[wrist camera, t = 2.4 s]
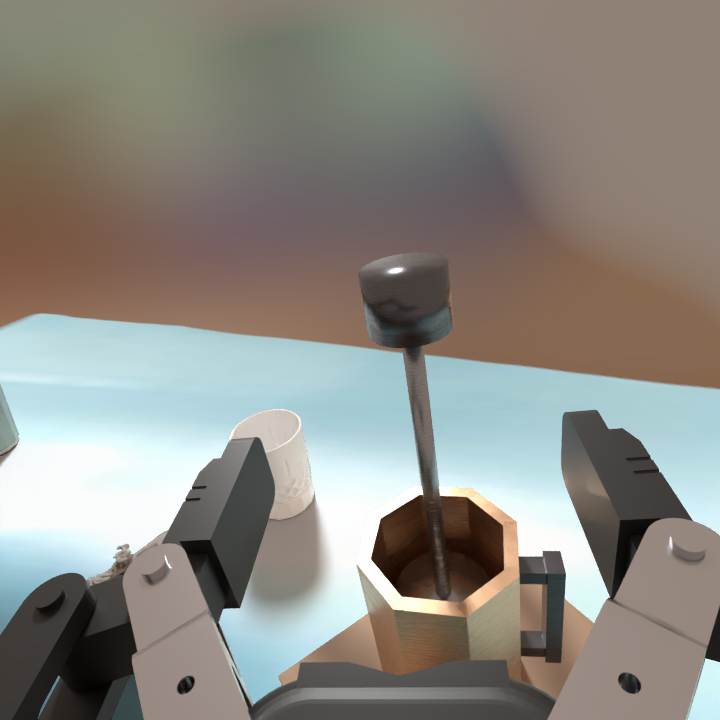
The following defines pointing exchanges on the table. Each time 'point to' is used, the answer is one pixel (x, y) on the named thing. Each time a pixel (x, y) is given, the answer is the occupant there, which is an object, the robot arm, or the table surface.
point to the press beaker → (476, 613)
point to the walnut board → (547, 677)
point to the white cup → (282, 458)
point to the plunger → (419, 402)
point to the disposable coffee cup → (6, 426)
